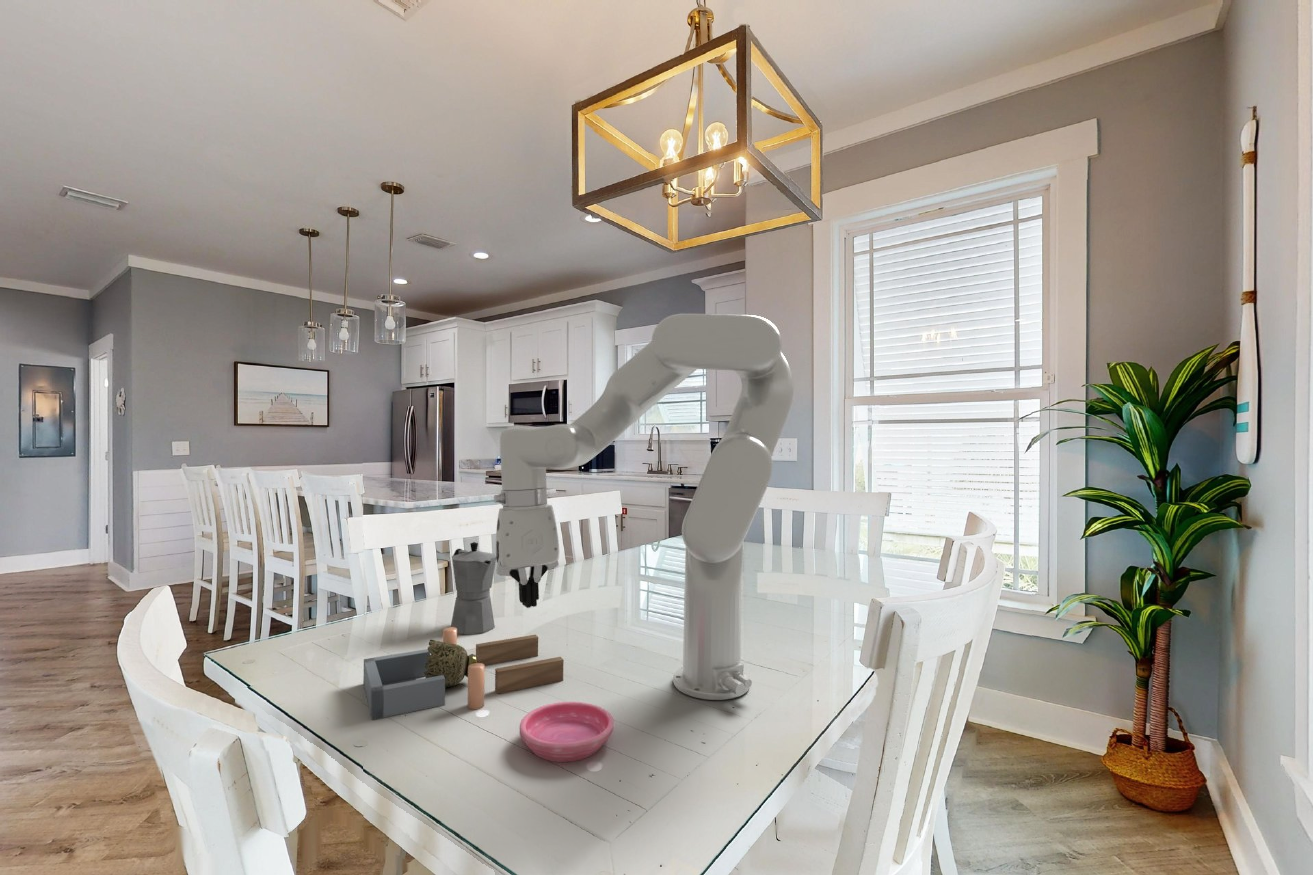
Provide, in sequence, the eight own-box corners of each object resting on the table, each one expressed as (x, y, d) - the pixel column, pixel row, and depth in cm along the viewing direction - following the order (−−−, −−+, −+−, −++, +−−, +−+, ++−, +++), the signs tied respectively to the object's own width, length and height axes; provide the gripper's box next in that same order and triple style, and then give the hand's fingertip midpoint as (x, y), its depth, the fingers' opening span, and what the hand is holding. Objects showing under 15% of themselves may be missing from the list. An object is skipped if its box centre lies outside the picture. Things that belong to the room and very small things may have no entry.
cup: (471, 684, 102) (422, 682, 99) (478, 639, 103) (429, 636, 101) (473, 695, 95) (419, 694, 92) (480, 646, 96) (428, 644, 94)
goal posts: (485, 707, 90) (486, 667, 90) (469, 710, 89) (470, 670, 89) (454, 659, 108) (455, 626, 108) (441, 661, 107) (441, 628, 107)
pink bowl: (569, 713, 89) (570, 692, 89) (632, 741, 81) (632, 718, 81) (499, 746, 79) (500, 722, 79) (563, 782, 72) (563, 755, 72)
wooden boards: (563, 680, 100) (563, 659, 100) (497, 693, 95) (497, 671, 95) (535, 653, 112) (535, 634, 112) (475, 663, 107) (476, 644, 107)
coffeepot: (508, 630, 125) (510, 544, 124) (466, 641, 118) (467, 549, 118) (473, 613, 136) (475, 534, 136) (433, 622, 129) (434, 538, 129)
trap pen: (444, 704, 91) (445, 678, 91) (371, 719, 85) (372, 691, 85) (428, 672, 103) (428, 648, 103) (363, 683, 98) (363, 659, 98)
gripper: (487, 504, 96) (491, 618, 96) (573, 496, 104) (578, 602, 104) (475, 501, 103) (480, 608, 103) (557, 494, 110) (562, 593, 110)
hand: (529, 605), depth 103 cm, fingers closed
